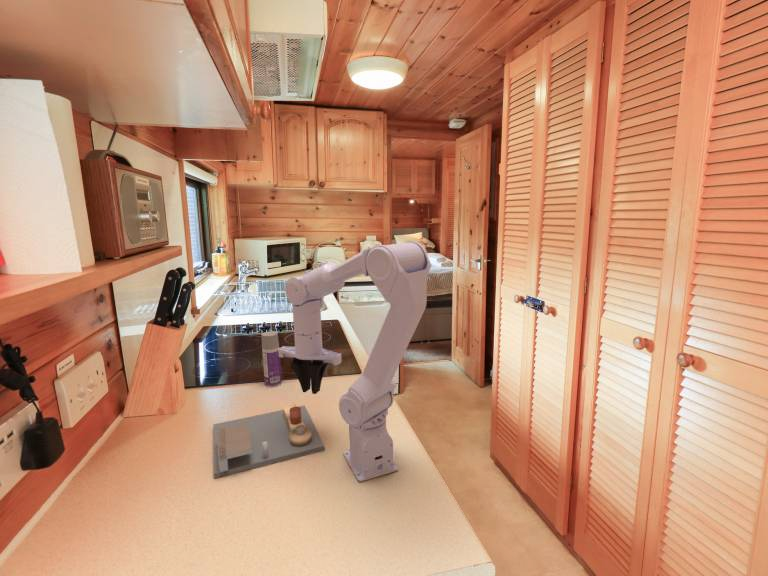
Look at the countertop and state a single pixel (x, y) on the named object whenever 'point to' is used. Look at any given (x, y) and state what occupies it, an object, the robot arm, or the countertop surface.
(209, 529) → the countertop surface
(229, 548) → the countertop surface
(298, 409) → the latch
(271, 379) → the container
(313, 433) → the board
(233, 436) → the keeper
